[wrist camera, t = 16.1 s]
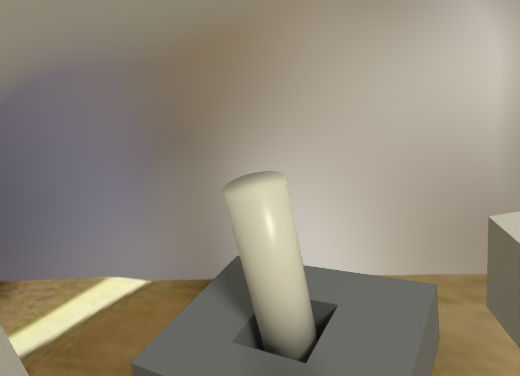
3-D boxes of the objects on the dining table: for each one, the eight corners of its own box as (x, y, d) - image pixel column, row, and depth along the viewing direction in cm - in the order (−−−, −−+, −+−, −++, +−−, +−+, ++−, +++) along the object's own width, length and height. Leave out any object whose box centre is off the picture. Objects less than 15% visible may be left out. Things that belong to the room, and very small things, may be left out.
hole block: (151, 412, 30) (130, 362, 29) (248, 297, 41) (237, 255, 39) (395, 526, 21) (387, 462, 19) (439, 337, 31) (436, 284, 30)
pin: (260, 378, 30) (210, 196, 25) (284, 340, 33) (244, 171, 28) (309, 394, 28) (265, 198, 23) (330, 352, 31) (296, 171, 26)
